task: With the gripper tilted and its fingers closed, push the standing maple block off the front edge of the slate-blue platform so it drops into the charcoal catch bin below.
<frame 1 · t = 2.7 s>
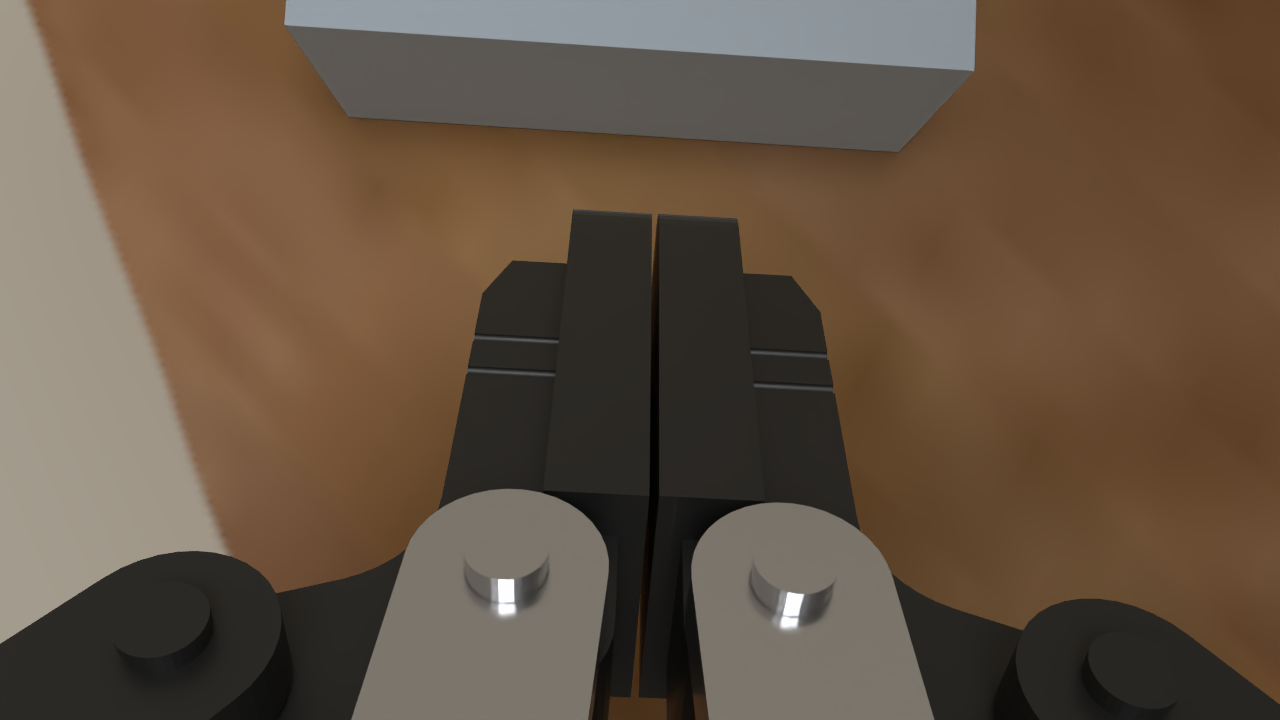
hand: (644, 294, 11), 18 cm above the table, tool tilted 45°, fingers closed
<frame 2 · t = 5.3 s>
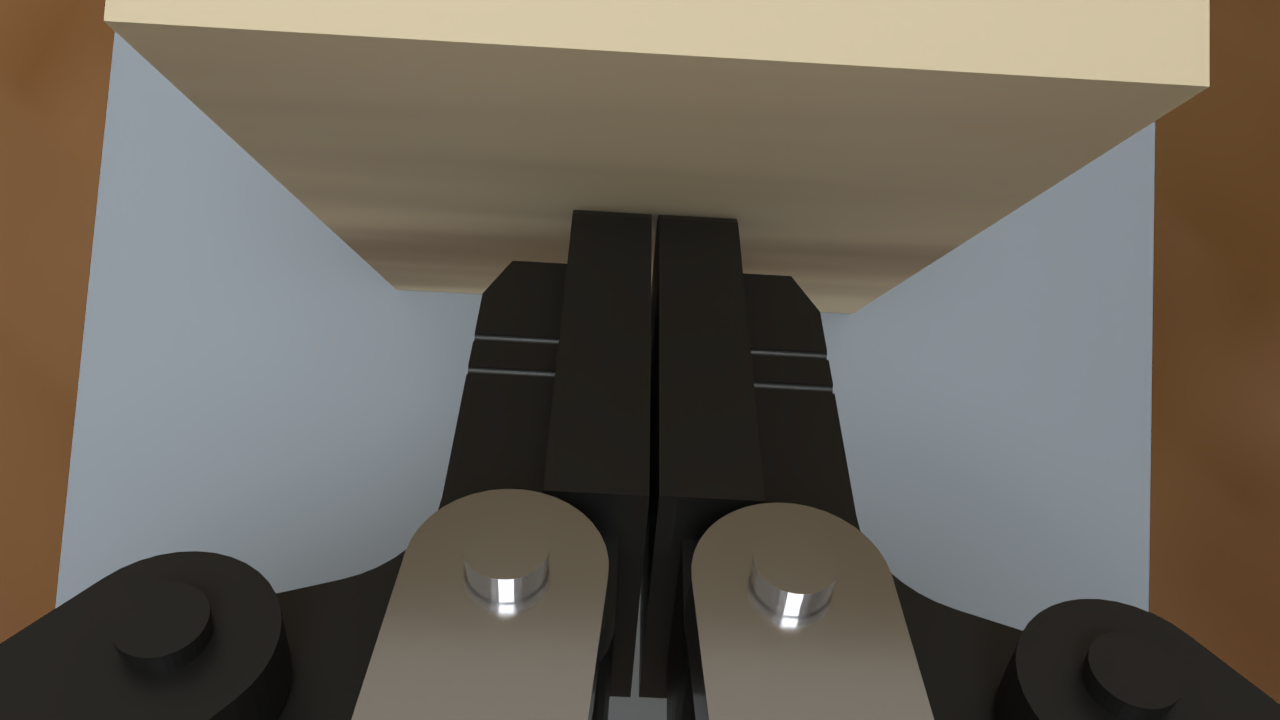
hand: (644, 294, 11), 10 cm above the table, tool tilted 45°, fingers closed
platform: (618, 374, 21), on the table
block: (636, 80, 16), point 6 cm above the table, touching gripper
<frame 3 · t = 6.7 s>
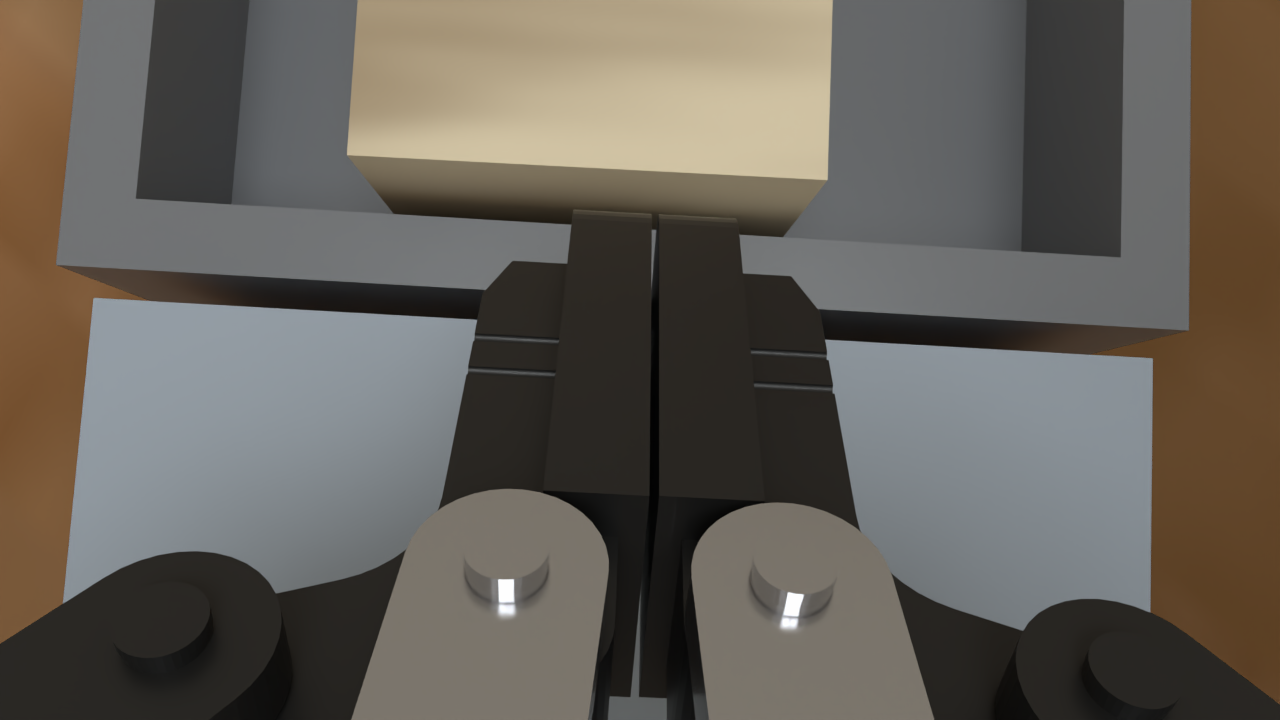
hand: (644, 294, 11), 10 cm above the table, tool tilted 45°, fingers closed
block: (590, 219, 17), point 4 cm above the table, tilted 90°, touching catch bin
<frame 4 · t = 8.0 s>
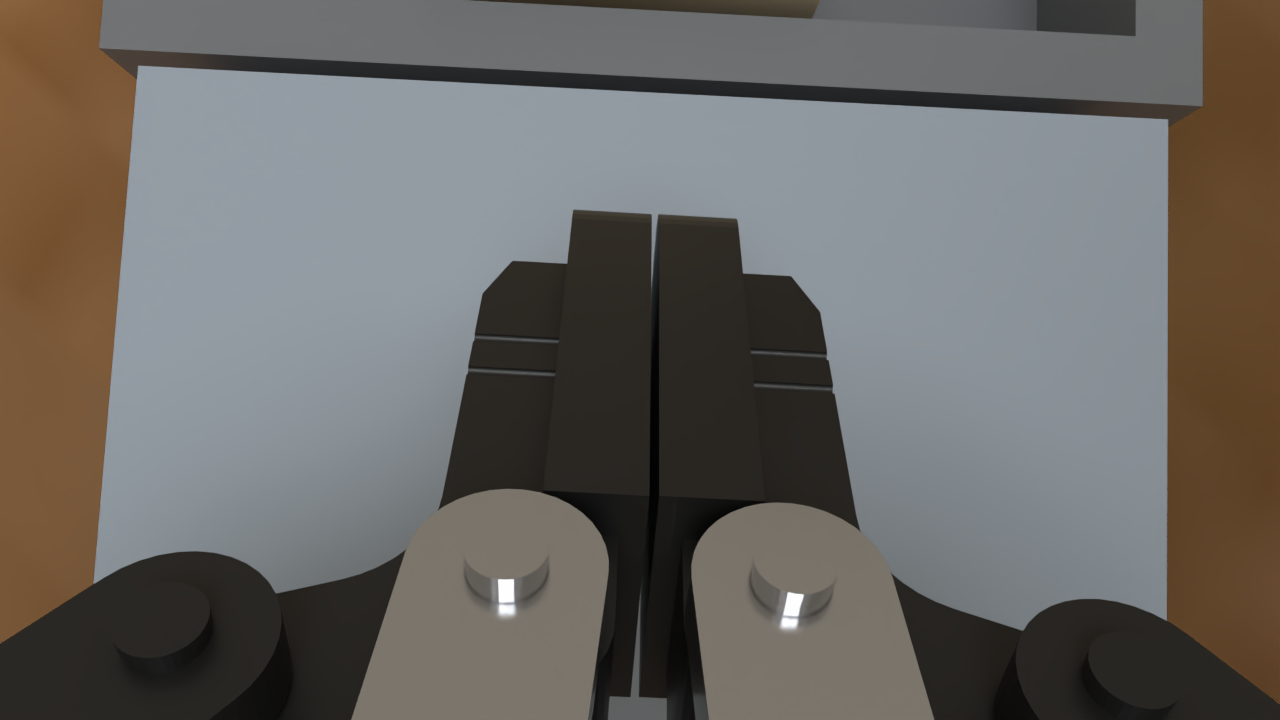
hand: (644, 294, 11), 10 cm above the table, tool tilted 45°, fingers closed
platform: (627, 573, 21), on the table
block: (616, 14, 18), point 4 cm above the table, tilted 90°, touching catch bin
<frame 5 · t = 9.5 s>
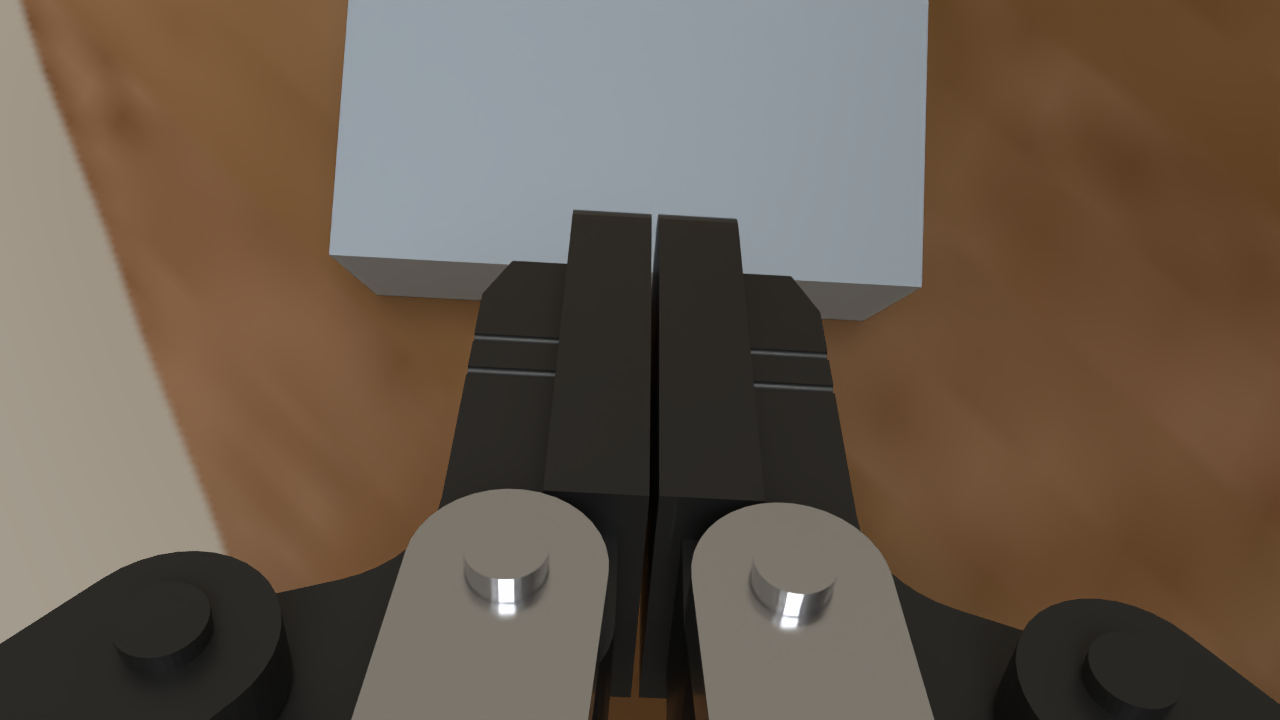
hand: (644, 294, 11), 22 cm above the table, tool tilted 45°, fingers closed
platform: (633, 72, 34), on the table
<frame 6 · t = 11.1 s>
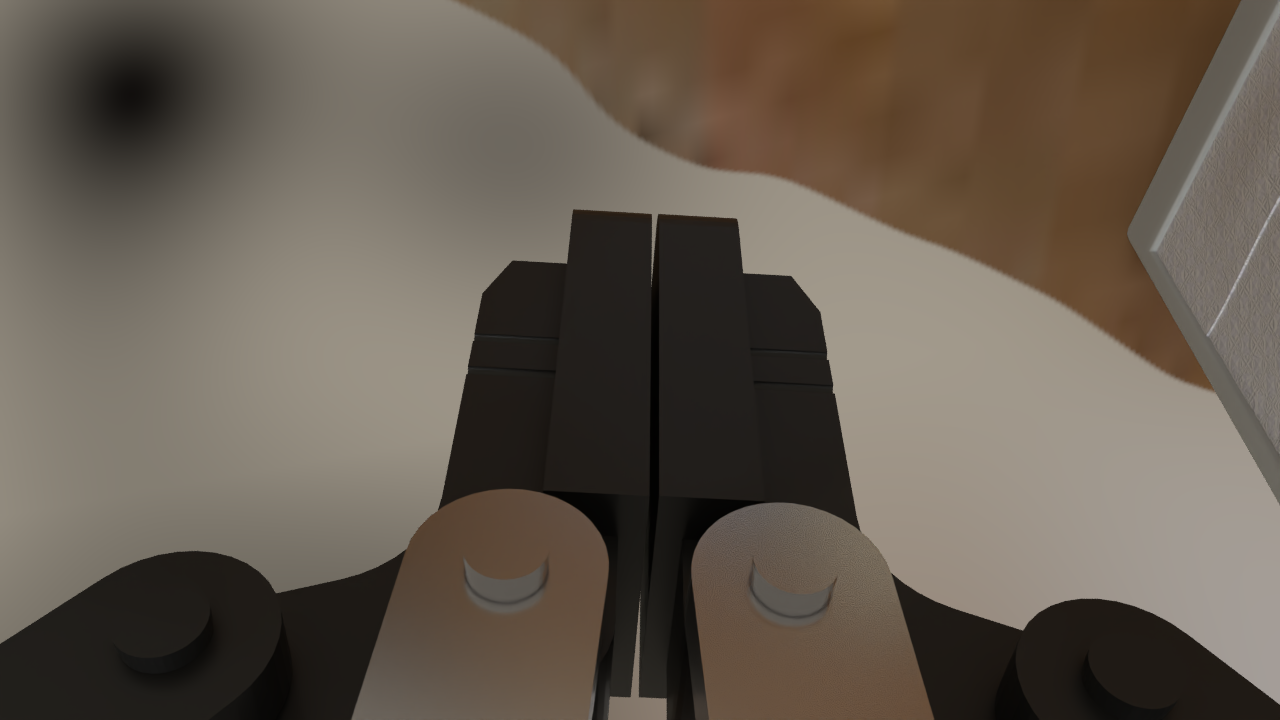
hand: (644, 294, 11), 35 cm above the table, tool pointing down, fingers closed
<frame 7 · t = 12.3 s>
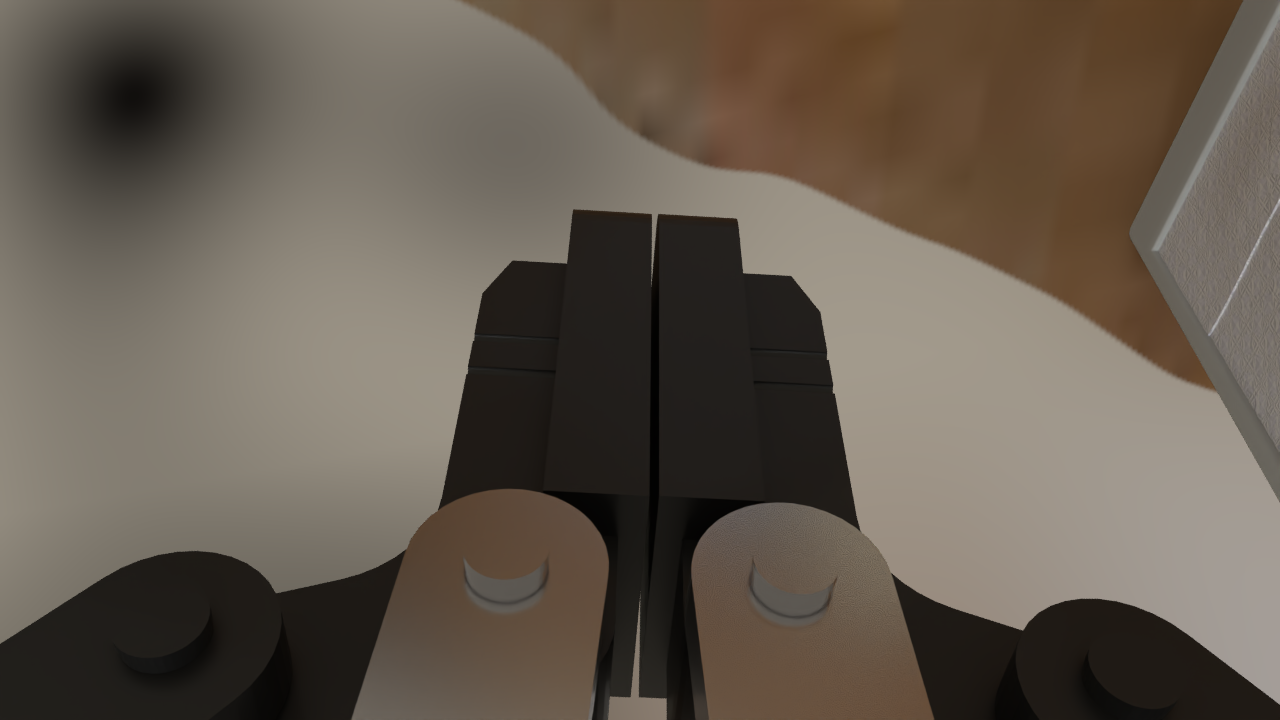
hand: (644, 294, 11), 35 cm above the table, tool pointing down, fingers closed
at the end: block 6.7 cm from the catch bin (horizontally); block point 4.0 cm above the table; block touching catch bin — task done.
